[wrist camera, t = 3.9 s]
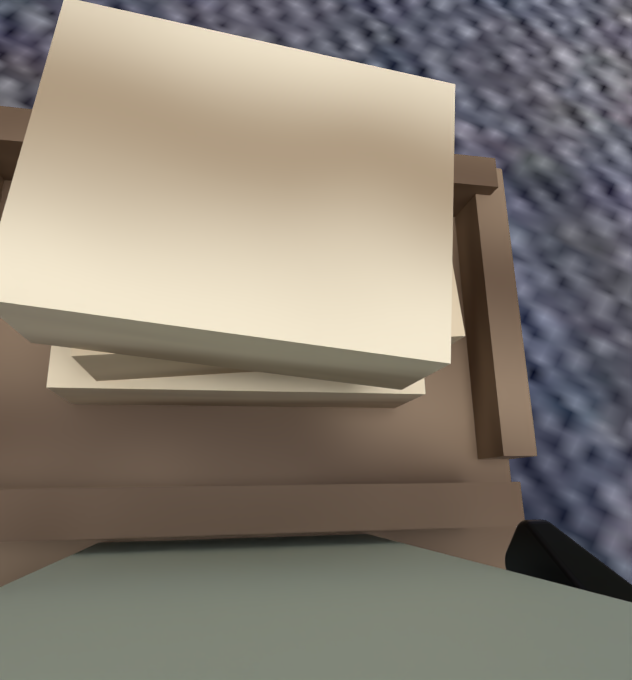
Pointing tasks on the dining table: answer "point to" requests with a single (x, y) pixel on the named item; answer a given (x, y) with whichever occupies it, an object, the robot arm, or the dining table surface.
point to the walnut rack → (282, 435)
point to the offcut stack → (229, 221)
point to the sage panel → (302, 615)
